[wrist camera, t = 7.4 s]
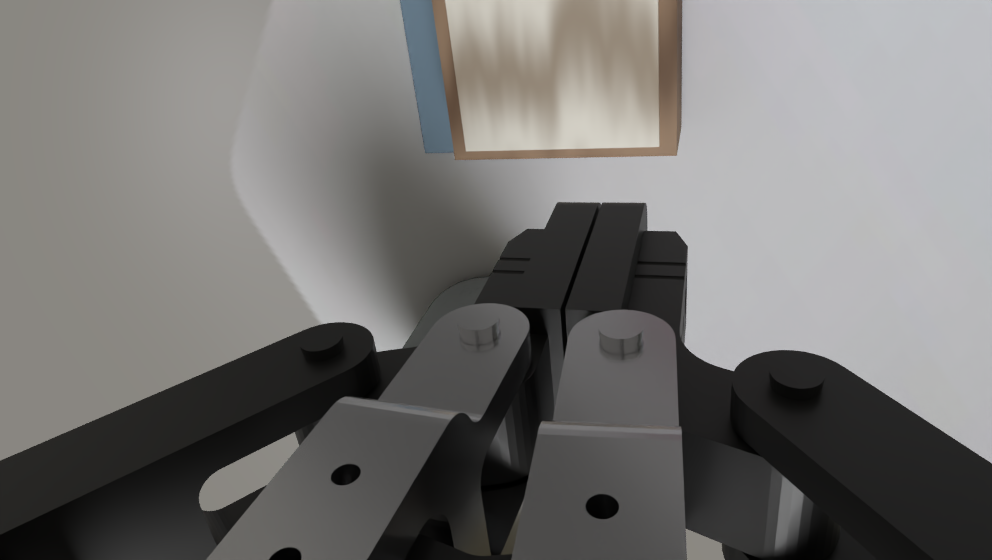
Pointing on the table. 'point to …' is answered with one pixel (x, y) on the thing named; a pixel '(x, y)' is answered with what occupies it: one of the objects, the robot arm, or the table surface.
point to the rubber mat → (427, 75)
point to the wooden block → (561, 77)
